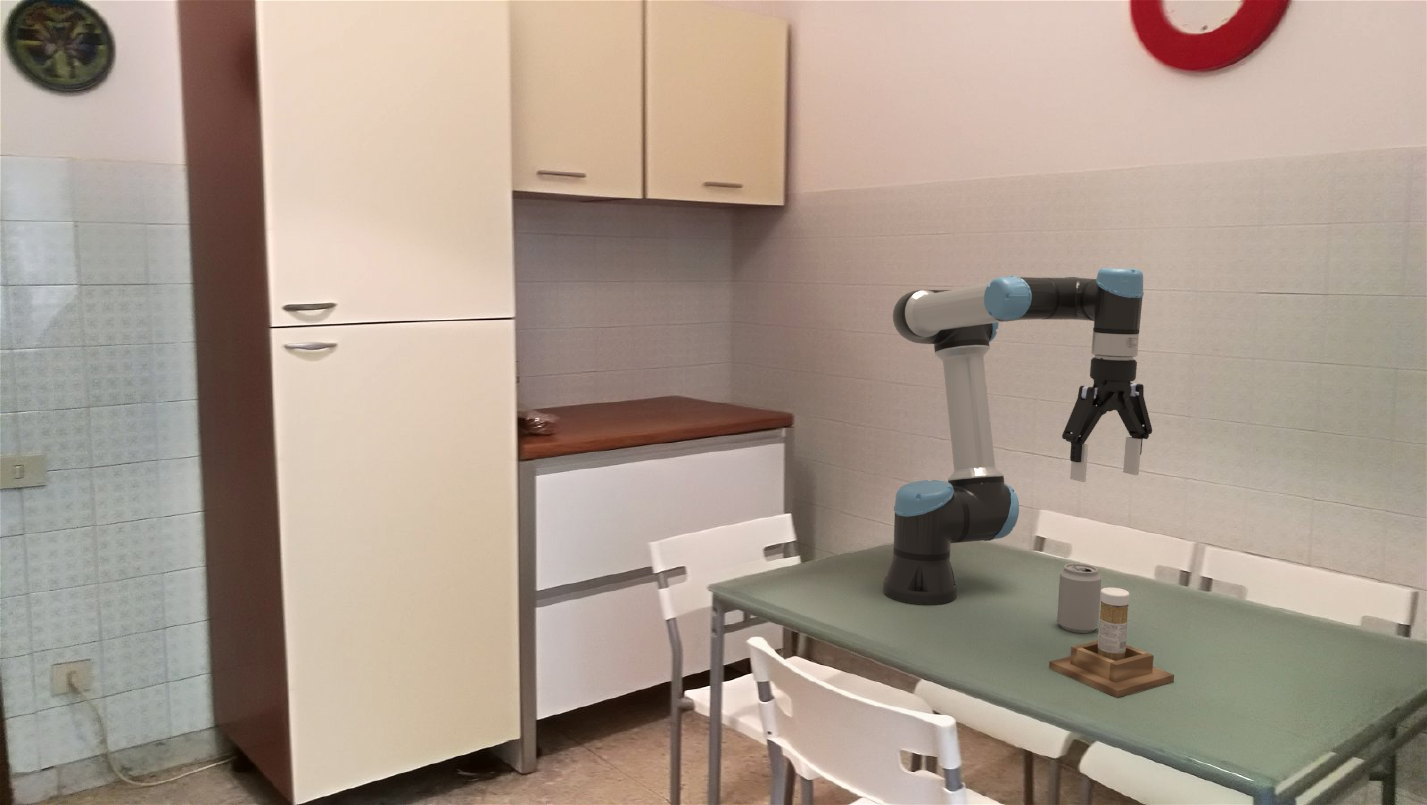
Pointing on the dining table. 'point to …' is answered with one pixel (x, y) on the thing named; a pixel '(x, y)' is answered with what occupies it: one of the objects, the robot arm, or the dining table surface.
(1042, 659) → the dining table surface
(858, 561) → the dining table surface
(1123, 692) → the holder
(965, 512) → the robot arm
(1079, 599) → the can
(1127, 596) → the sprinkles bottle
